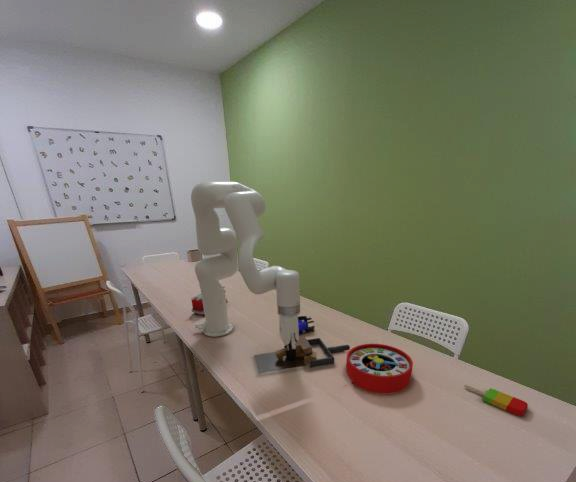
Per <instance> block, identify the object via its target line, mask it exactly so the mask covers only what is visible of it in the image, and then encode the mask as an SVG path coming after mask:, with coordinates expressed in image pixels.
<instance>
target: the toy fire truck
mask: <svg viewBox="0 0 576 482" xmlns="http://www.w3.org/2000/svg"><path fill="white" fill-rule="evenodd" d="M222 287H223V288H224V289H225V288H226V286H222ZM190 300H191V306H192V308H191V313H195V314H197V315H205V314H204V307H203V301H202V295H201V293H199V294H197V295H195V296H193V297H190ZM228 303H229V301H228V299H227V298H226V304H228Z"/></svg>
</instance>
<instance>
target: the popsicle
mask: <svg viewBox="0 0 576 482" xmlns="http://www.w3.org/2000/svg"><path fill="white" fill-rule="evenodd" d="M463 387H464V388H467V389H469V390H472V391H474V392H476V393H478V394H481V395H483V396H482V398H481V399H482V402H484V403H487V404H489V405H492V406H494V407H496V408H499V409H501V410H504V411H506V412H507V413H508V412H509V413H511V414H513V415H516V416H520V417H522V416H524V415H525V413H526V411H527V409H528V406H529V405H528V403H527V401H525V400H524V399H523V400H522V399H520V398H518V397H515V396H512V395H510V394H507V393H506V392H505V393H504V392H502V391H499V390H496V389H494V388H489V389H488V390H487V391H486V392H485V391H483V390H481V389H478V388H475V387H473V386H470V385H468V384H464V385H463Z"/></svg>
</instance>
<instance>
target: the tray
mask: <svg viewBox="0 0 576 482" xmlns="http://www.w3.org/2000/svg"><path fill="white" fill-rule="evenodd" d="M275 352H276V351H272V352H266V353H259V354H254V359H255V363H256V366H257V367H256V368H257V370H258V374H264V373H268V372H269V373H270V372H275V371H276V372H277V371H282V370H287V369H296V368H300V367H306V366H307V365H306V362H304V358H303V356H302V357H296V359H292V360H287V358H286V356H284V357H283V360H281V361H279V360H278V359H277V356H276V354H275Z"/></svg>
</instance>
